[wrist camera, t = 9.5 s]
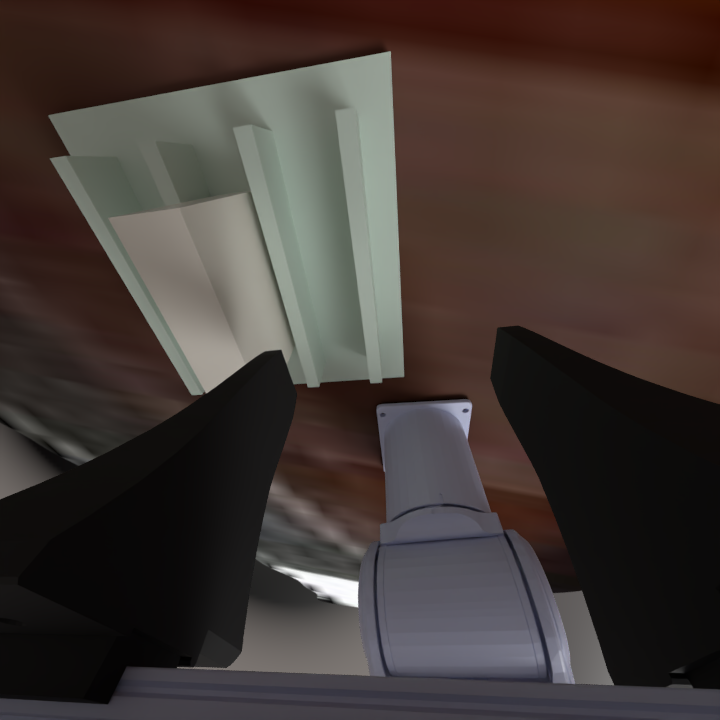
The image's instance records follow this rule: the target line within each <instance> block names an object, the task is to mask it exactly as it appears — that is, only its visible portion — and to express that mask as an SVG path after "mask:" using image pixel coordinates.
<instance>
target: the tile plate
mask: <svg viewBox="0 0 720 720" xmlns="http://www.w3.org/2000/svg"><path fill="white" fill-rule="evenodd" d="M108 219H109V221H110V223H111V224H112V226H113V228H114V230H115V231H116V233H117V235H118V237H119V239H120V240H121V242H122V244H123V246H124V248H125V249H126V251H127V253H128V255H129V256H130V258H131V260H132V262H133V264H134V265H135V267H136V269H137V271H138V272H139V274H140V276H141V278H142V280H143V281H144V283H145V285H146V287H147V289H148V290H149V292H150V294H151V296H152V297H153V299H154V301H155V303H156V305H157V306H158V308H159V310H160V312H161V314H162V315H163V317H164V319H165V321H166V322H167V324H168V326H169V328H170V330H171V331H172V333H173V335H174V337H175V339H176V340H177V342H178V344H179V346H180V347H181V349H182V351H183V353H184V355H185V356H186V358H187V360H188V362H189V364H190V365H191V367H192V369H193V371H194V372H195V374H196V376H197V378H198V380H199V381H200V383H201V385H202V387H203V389H204V390H205V392H206V393H208V392H209V391H211V390H212V389H214V388H215V387H216V386H218V385H219V384H220V383H222V382H223V381H224V380H226V379H227V378H228V377H230V376H231V375H232V374H234V373H235V372H236V371H238V370H239V369H240V368H242V367H243V366H244V365H245V364H247V363H248V362H249V361H251V360H252V359H254V358H255V357H256V356H258V355H259V354H261V353H263V352H264V351H272V350H282V353H283V356H284V358H285V361H286V364H287V363H288V361H289V359H290V356H291V354H292V352H293V349H294V347H295V345H296V344H295V341H294V338H293V334H292V331H291V327H290V324H289V320H288V317H287V313H286V310H285V307H284V303H283V300H282V296H281V293H280V289H279V286H278V282H277V279H276V276H275V272H274V269H273V265H272V262H271V258H270V255H269V251H268V248H267V245H266V241H265V238H264V234H263V231H262V227H261V224H260V220H259V217H258V214H257V210H256V207H255V203H254V200H253V196H252V193H251V191H244V192H237V193H230V194H223V195H217V196H212V197H207V198H202V199H198V200H193V201H188V202H183V203H178V204H173V205H168V206H163V207H159V208H154V209H149V210H144V211H139V212H134V213H129V214H125V215H120V216H115V217H110V218H108Z"/></svg>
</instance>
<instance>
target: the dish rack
mask: <svg viewBox="0 0 720 720" xmlns="http://www.w3.org/2000/svg"><path fill="white" fill-rule="evenodd" d="M48 116H49V118H50V120H51V122H52V124H53V125H54V127H55V129H56V131H57V132H58V134H59V136H60V138H61V139H62V141H63V143H64V145H65V147H66V148H67V150H68V152H69V154H70V155H71V156H62V157H56V158H50V160H51V162H52V163H53V165H54V167H55V168H56V170H57V172H58V173H59V175H60V177H61V178H62V180H63V182H64V183H65V185H66V187H67V188H68V190H69V192H70V193H71V195H72V197H73V198H74V200H75V202H76V203H77V205H78V207H79V208H80V210H81V212H82V213H83V215H84V217H85V218H86V220H87V222H88V223H89V225H90V227H91V228H92V230H93V232H94V233H95V235H96V237H97V238H98V240H99V242H100V243H101V245H102V247H103V248H104V250H105V252H106V253H107V255H108V256H109V258H110V260H111V261H112V263H113V265H114V266H115V268H116V270H117V271H118V273H119V275H120V276H121V278H122V280H123V281H124V283H125V285H126V286H127V288H128V290H129V291H130V293H131V295H132V296H133V298H134V300H135V301H136V303H137V305H138V306H139V308H140V310H141V311H142V313H143V315H144V316H145V318H146V320H147V321H148V323H149V325H150V326H151V328H152V330H153V331H154V333H155V335H156V336H157V338H158V340H159V341H160V343H161V345H162V346H163V348H164V350H165V351H166V353H167V355H168V356H169V358H170V360H171V361H172V363H173V365H174V366H175V368H176V370H177V371H178V373H179V375H180V376H181V378H182V380H183V381H184V383H185V385H186V386H187V388H188V390H189V391H190V393H191V395H201V394H203V393H204V391H205V390H204V389H203V387H202V385H201V383H200V381H199V380H198V378H197V376H196V374H195V372H194V371H193V369H192V367H191V365H190V364H189V362H188V360H187V358H186V356H185V355H184V353H183V351H182V349H181V347H180V346H179V344H178V342H177V340H176V339H175V337H174V335H173V333H172V331H171V330H170V328H169V326H168V324H167V322H166V321H165V319H164V317H163V315H162V314H161V312H160V310H159V308H158V306H157V305H156V303H155V301H154V299H153V297H152V296H151V294H150V292H149V290H148V289H147V287H146V285H145V283H144V281H143V280H142V278H141V276H140V274H139V272H138V271H137V269H136V267H135V265H134V264H133V262H132V260H131V258H130V256H129V255H128V253H127V251H126V249H125V248H124V246H123V244H122V242H121V240H120V239H119V237H118V235H117V233H116V231H115V230H114V228H113V226H112V224H111V223H110V221H109V219H108V218H110V217H115V216H120V215H125V214H129V213H134V212H139V211H144V210H149V209H154V208H159V207H163V206H168V205H173V204H178V203H183V202H188V201H193V200H198V199H202V198H207V197H212V196H217V195H223V194H230V193H237V192H244V191H251V193H252V196H253V200H254V203H255V207H256V210H257V214H258V217H259V220H260V224H261V227H262V231H263V234H264V238H265V241H266V245H267V248H268V251H269V255H270V258H271V262H272V265H273V269H274V272H275V276H276V279H277V282H278V286H279V289H280V293H281V296H282V300H283V303H284V307H285V310H286V313H287V317H288V320H289V324H290V327H291V331H292V334H293V338H294V341H295V344H296V345H295V347H294V349H293V352H292V354H291V356H290V359H289V361H288V363H287V367H288V370H289V373H290V375H291V378H292V381H293V384H305V383H307V386H308V387H319V386H320V382H335V381H350V380H365V379H370V383H382V378H395V377H404V359H403V335H402V311H401V287H400V263H399V239H398V216H397V192H396V168H395V144H394V120H393V96H392V73H391V51H390V52H385V53H379V54H374V55H369V56H363V57H358V58H353V59H347V60H342V61H336V62H331V63H326V64H320V65H315V66H310V67H304V68H299V69H294V70H288V71H283V72H277V73H272V74H267V75H261V76H256V77H251V78H245V79H240V80H235V81H229V82H224V83H218V84H213V85H208V86H202V87H197V88H192V89H186V90H181V91H176V92H170V93H165V94H159V95H154V96H149V97H143V98H138V99H133V100H127V101H122V102H117V103H111V104H106V105H100V106H95V107H90V108H84V109H79V110H74V111H68V112H63V113H58V114H52V115H48Z"/></svg>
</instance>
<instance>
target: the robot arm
mask: <svg viewBox="0 0 720 720" xmlns="http://www.w3.org/2000/svg"><path fill="white" fill-rule="evenodd" d="M490 379H491V381H492V384H493V387H494V390H495V393H496V396H497V398H498V401H499V403H500V406H501V407H502V409H503V411H504V413H505V415H506V417H507V419H508V421H509V423H510V424H511V426H512V428H513V430H514V432H515V434H516V435H517V437H518V439H519V441H520V443H521V445H522V446H523V448H524V450H525V452H526V454H527V456H528V457H529V459H530V461H531V463H532V465H533V467H534V469H535V471H536V473H537V475H538V477H539V479H540V482H541V484H542V487H543V489H544V491H545V494H546V496H547V499H548V501H549V503H550V506H551V508H552V511H553V513H554V516H555V518H556V521H557V524H558V526H559V529H560V531H561V534H562V537H563V539H564V542H565V544H566V547H567V550H568V552H569V555H570V558H571V561H572V564H573V566H574V569H575V572H576V575H577V578H578V580H579V583H580V586H581V589H582V592H583V594H584V597H585V600H586V604H587V607H588V610H589V613H590V616H591V619H592V622H593V625H594V628H595V631H596V634H597V636H598V640H599V643H600V647H601V650H602V653H603V656H604V660H605V663H606V666H607V669H608V672H609V674H610V676H611V679H612V681H613V683H614V685H590V684H589V685H588V684H575V681H574V677H573V673H572V670H571V666H570V652H569V647H568V642H567V638H566V634H565V630H564V627H563V623H562V620H561V617H560V614H559V610H558V607H557V604H556V601H555V599H554V596H553V593H552V590H551V588H550V585H549V583H548V580H547V578H546V575H545V573H544V571H543V568H542V566H541V564H540V562H539V560H538V558H537V556H536V554H535V552H534V550H533V549H532V547H531V545H530V544H529V543H528V542H527V541H526V540H525V539H524V538H522V537H521V536H520V535H519V534H518V533H517V532H516V531H514V530H512V529H510V530H503V529H502V527H501V524H500V521H499V518H498V515H497V513H491V510H490V507H489V504H488V501H487V498H486V495H485V492H484V489H483V486H482V483H481V480H480V477H479V474H478V471H477V468H476V465H475V462H474V459H473V456H472V453H471V450H470V447H469V444H468V441H467V439H468V431H469V424H470V417H471V410H472V403H471V401H470V400H468V399H460V400H443V401H425V402H408V403H390V404H380V405H378V406H377V419H378V427H379V435H380V444H381V452H382V460H383V468H384V472H385V484H386V516H387V523H383V524H380V541H374V542H372V543H371V544H370V546H369V548H368V550H367V552H366V553H365V555H364V557H363V559H362V563H361V567H360V575H359V589H358V607H359V623H360V632H361V639H362V644H363V649H364V652H365V656H366V658H367V661H368V666H369V672H370V676H358V675H333V674H332V675H330V674H307V673H282V672H255V671H230V670H204V669H179V668H177V667H217V668H219V667H220V668H227V667H228V666H230V665H231V664H232V663H233V662H234V661H235V660H236V659H237V657H238V656H239V655H240V653H241V651H242V644H243V635H244V629H245V621H246V614H247V607H248V600H249V593H250V587H251V581H252V575H253V569H254V563H255V557H256V552H257V546H258V541H259V536H260V531H261V526H262V521H263V517H264V512H265V508H266V503H267V499H268V494H269V490H270V486H271V483H272V480H273V476H274V473H275V470H276V467H277V464H278V461H279V458H280V455H281V452H282V450H283V447H284V444H285V441H286V438H287V435H288V432H289V429H290V426H291V422H292V419H293V414H294V409H295V404H296V397H297V392H296V390H295V387H294V384H293V381H292V378H291V375H290V373H289V370H288V367H287V364H286V361H285V358H284V356H283V353H282V350H272V351H264V352H263V353H261V354H259V355H258V356H256V357H255V358H254V359H252V360H251V361H249V362H248V363H247V364H245V365H244V366H243V367H242V368H240V369H239V370H238V371H236V372H235V373H234V374H232V375H231V376H230V377H228V378H227V379H226V380H224V381H223V382H222V383H220V384H219V385H218V386H216V387H215V388H214V389H212V390H211V391H209V392H208V393H206V394H205V395H204V396H202V397H201V398H199V399H198V400H197V401H195V402H194V403H192V404H191V405H189V406H188V407H186V408H185V409H183V410H182V411H180V412H179V413H177V414H176V415H174V416H172V417H171V418H169V419H167V420H166V421H164V422H162V423H161V424H159V425H157V426H156V427H154V428H152V429H151V430H149V431H147V432H145V433H143V434H141V435H139V436H138V437H136V438H134V439H132V440H130V441H128V442H126V443H124V444H122V445H121V446H119V447H117V448H115V449H113V450H111V451H109V452H107V453H105V454H103V455H101V456H99V457H97V458H95V459H93V460H91V461H89V462H86V463H84V464H82V465H80V466H78V467H76V468H73V469H72V470H69V471H67V472H65V473H63V474H60V475H58V476H56V477H53V478H51V479H49V480H46V481H44V482H42V483H40V484H37V485H35V486H32V487H30V488H27V489H25V490H22V491H20V492H18V493H15V494H13V495H10V496H7V497H5V498H3V499H1V500H0V720H720V404H716V403H713V402H709V401H706V400H703V399H699V398H696V397H693V396H690V395H687V394H684V393H680V392H677V391H675V390H672V389H669V388H666V387H663V386H660V385H657V384H654V383H651V382H648V381H646V380H643V379H640V378H637V377H635V376H632V375H629V374H627V373H624V372H622V371H620V370H617V369H615V368H612V367H610V366H607V365H605V364H602V363H600V362H598V361H595V360H593V359H591V358H589V357H586V356H584V355H582V354H580V353H577V352H575V351H573V350H571V349H569V348H567V347H565V346H562V345H560V344H558V343H556V342H554V341H552V340H550V339H548V338H546V337H543V336H541V335H539V334H537V333H535V332H533V331H530V330H528V329H526V328H523V327H520V326H510V327H500V328H497V336H496V343H495V350H494V357H493V364H492V371H491V378H490ZM463 409H465V410H463ZM381 413H385V414H381Z"/></svg>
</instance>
